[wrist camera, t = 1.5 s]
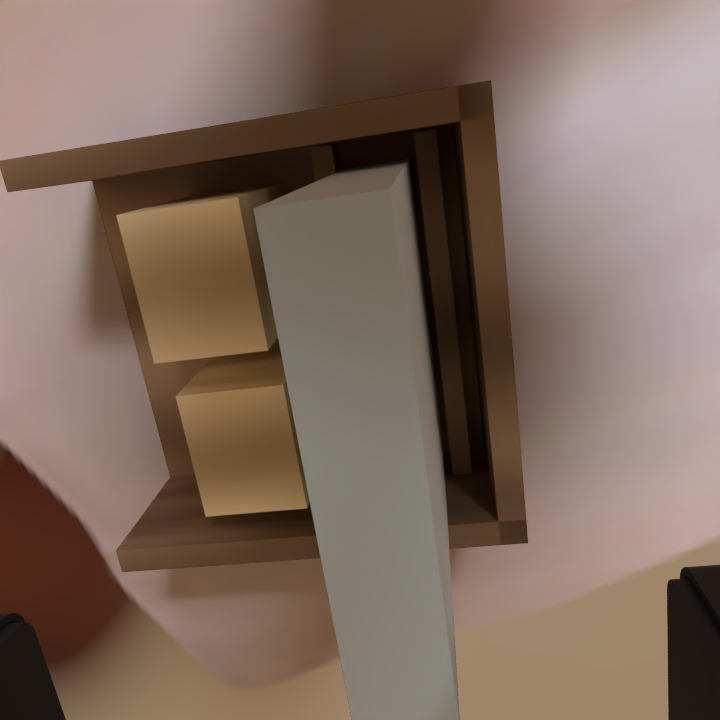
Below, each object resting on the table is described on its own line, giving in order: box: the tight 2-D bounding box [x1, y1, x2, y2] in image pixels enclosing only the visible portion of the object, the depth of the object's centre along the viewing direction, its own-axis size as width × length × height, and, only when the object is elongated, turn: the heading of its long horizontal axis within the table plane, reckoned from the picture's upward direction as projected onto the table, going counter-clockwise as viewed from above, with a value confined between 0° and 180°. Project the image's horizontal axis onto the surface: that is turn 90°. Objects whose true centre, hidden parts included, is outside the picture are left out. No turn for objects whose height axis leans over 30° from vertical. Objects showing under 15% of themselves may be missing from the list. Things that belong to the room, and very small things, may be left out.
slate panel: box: [253, 158, 460, 720], centre depth 21 cm, size 12×2×16 cm, turn 8°
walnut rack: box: [0, 81, 528, 572], centre depth 26 cm, size 16×16×7 cm
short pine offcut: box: [176, 340, 310, 517], centre depth 27 cm, size 5×4×6 cm
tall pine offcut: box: [116, 182, 285, 364], centre depth 25 cm, size 5×4×7 cm
